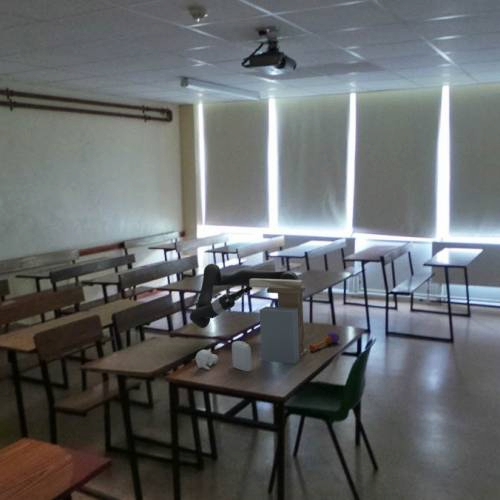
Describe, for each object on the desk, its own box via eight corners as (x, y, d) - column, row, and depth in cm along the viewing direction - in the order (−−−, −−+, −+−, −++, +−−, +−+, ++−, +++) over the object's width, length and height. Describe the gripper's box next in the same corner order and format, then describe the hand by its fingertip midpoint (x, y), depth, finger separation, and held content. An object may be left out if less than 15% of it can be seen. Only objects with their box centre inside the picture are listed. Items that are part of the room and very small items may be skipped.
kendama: (306, 342, 270) (330, 330, 284) (308, 354, 270) (333, 341, 284) (315, 342, 266) (339, 329, 280) (318, 354, 266) (342, 341, 280)
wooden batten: (252, 285, 272) (252, 278, 272) (303, 287, 261) (302, 280, 261) (249, 286, 269) (249, 279, 269) (300, 289, 258) (300, 281, 257)
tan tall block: (276, 349, 274) (273, 285, 270) (307, 352, 267) (304, 286, 263) (269, 354, 267) (266, 288, 263) (301, 357, 260) (299, 290, 256)
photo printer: (231, 367, 251) (230, 340, 250) (238, 364, 254) (237, 338, 252) (245, 372, 243) (244, 345, 242) (253, 370, 246) (252, 343, 245)
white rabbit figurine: (194, 350, 250) (211, 345, 260) (194, 369, 250) (211, 363, 260) (204, 352, 246) (221, 347, 256) (204, 371, 247) (221, 365, 256)
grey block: (267, 356, 265) (265, 306, 261) (299, 359, 258) (297, 308, 255) (261, 360, 258) (259, 309, 255) (294, 364, 251) (292, 311, 248)
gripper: (233, 307, 284) (257, 292, 277) (220, 313, 271) (245, 298, 264) (226, 294, 285) (250, 279, 278) (212, 300, 272) (237, 284, 265)
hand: (247, 288), depth 271 cm, fingers open, 8 cm apart
